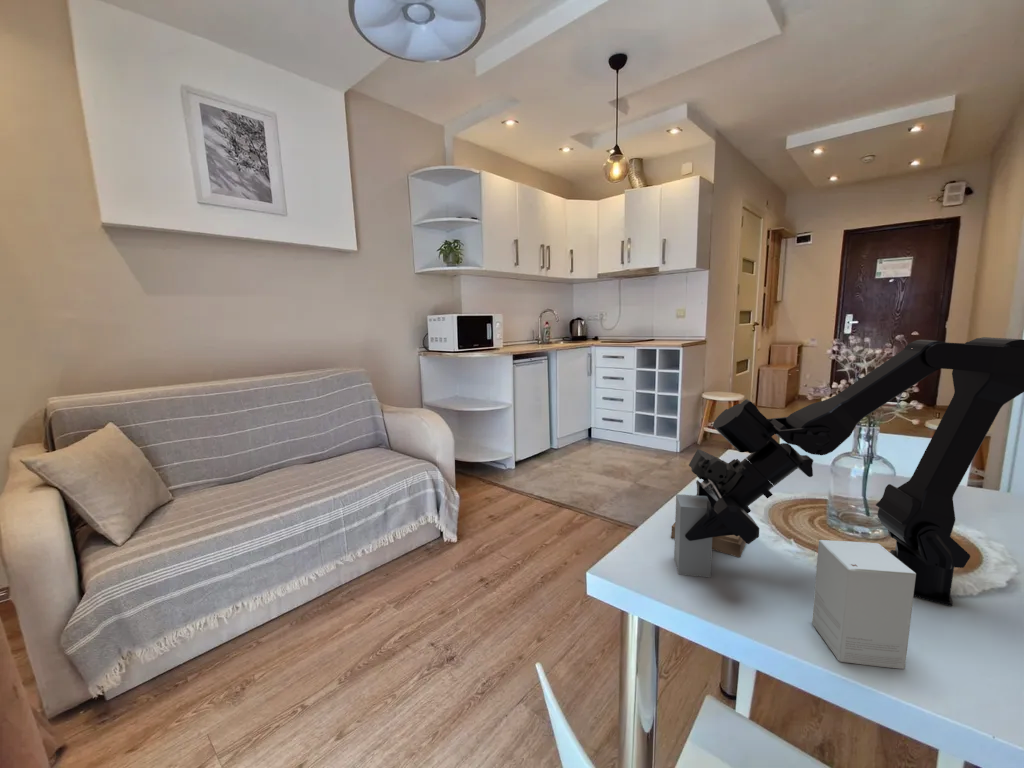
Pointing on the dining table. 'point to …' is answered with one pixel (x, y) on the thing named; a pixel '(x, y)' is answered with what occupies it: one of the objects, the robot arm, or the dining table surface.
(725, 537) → the walnut stand
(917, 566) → the robot arm
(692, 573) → the block
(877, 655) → the supplement box
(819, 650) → the dining table surface
